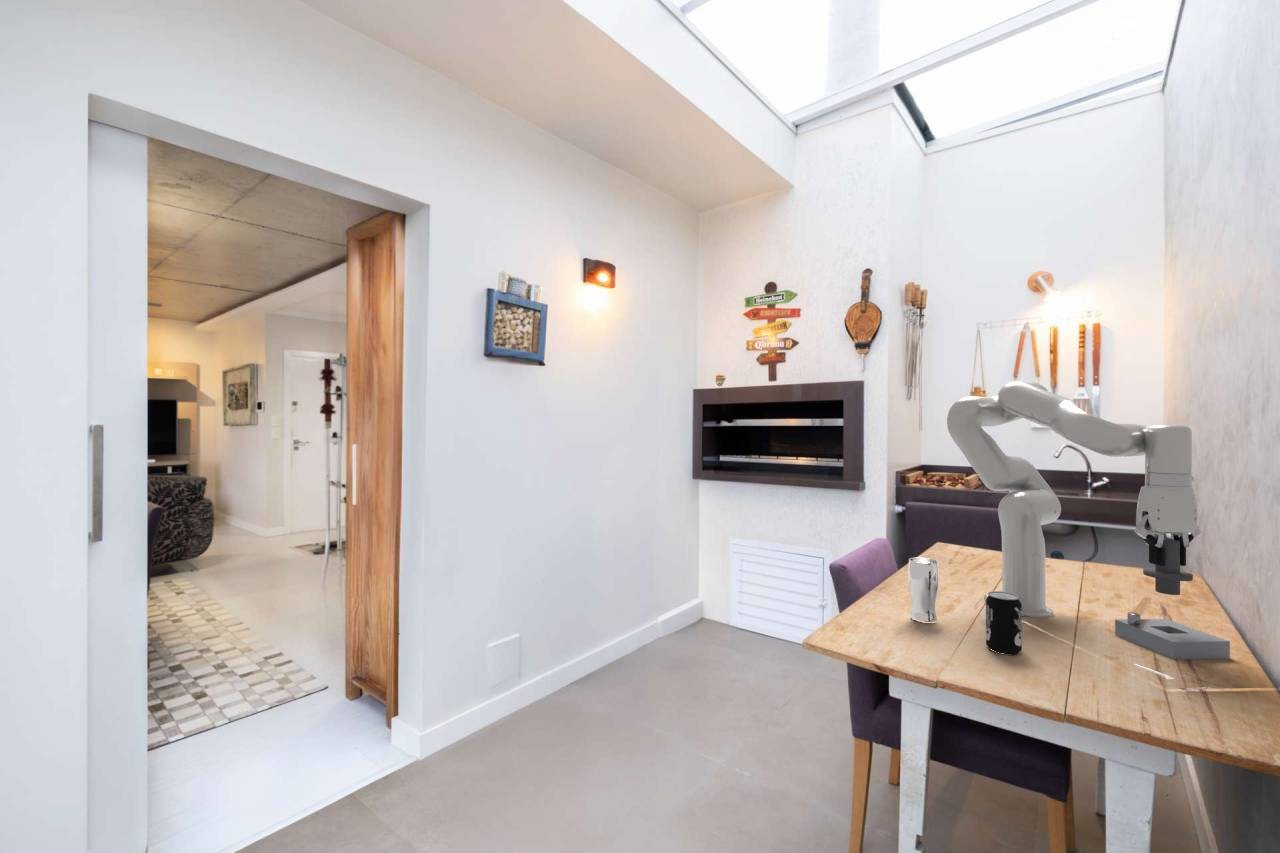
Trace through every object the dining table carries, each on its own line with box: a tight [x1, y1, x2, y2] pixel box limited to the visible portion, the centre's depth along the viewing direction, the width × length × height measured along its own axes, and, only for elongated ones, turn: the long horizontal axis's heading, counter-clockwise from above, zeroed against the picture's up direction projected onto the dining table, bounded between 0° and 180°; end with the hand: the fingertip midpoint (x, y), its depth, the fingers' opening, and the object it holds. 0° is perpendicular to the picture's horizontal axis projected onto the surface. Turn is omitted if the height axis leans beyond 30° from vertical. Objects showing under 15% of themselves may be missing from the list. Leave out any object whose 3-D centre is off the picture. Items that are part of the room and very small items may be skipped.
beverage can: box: [985, 590, 1023, 656], centre depth 124 cm, size 7×7×12 cm
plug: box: [1142, 538, 1194, 596], centre depth 125 cm, size 8×8×12 cm
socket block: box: [1114, 618, 1231, 660], centre depth 125 cm, size 12×14×4 cm
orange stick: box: [1126, 596, 1152, 625], centre depth 134 cm, size 20×2×2 cm, turn 131°
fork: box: [1133, 663, 1211, 691], centre depth 113 cm, size 3×20×2 cm, turn 7°
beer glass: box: [907, 557, 940, 622], centre depth 144 cm, size 7×7×15 cm
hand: (1167, 563), depth 125 cm, fingers closed on plug, 4 cm apart
